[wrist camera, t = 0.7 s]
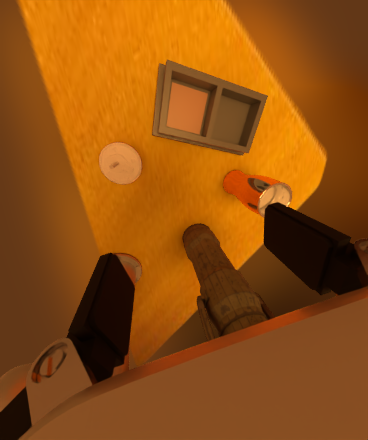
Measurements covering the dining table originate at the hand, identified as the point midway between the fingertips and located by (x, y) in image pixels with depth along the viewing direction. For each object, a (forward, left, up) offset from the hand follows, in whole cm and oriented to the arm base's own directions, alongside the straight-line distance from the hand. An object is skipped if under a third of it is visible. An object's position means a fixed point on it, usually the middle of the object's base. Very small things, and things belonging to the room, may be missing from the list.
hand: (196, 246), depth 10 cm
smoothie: (+1, +7, -30) cm, 31 cm away
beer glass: (0, -19, -30) cm, 35 cm away
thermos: (-17, -13, -30) cm, 36 cm away
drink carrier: (+12, -8, -30) cm, 33 cm away
